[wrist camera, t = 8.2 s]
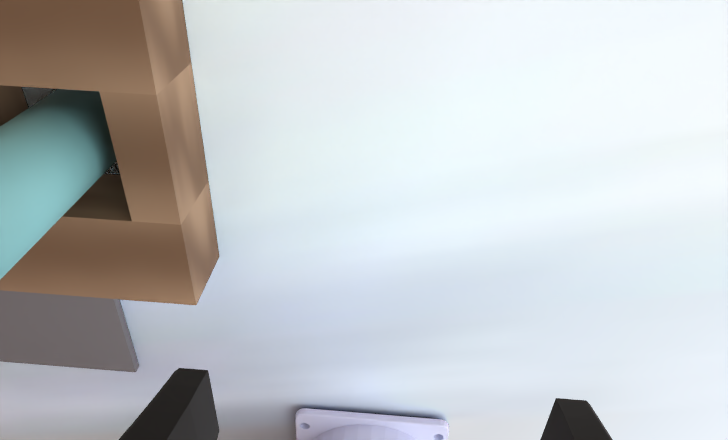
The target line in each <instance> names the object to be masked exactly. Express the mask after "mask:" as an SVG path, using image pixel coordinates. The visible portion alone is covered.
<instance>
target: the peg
mask: <svg viewBox="0 0 728 440" xmlns="http://www.w3.org/2000/svg"><path fill="white" fill-rule="evenodd" d="M116 161H117V160H116V156H115V152H114V148H113V144H112V140H111V136H110V132H109V128H108V124H107V120H106V116H105V112H104V108H103V104H102V100H101V96H100V92H99V91H84V90H68V89H57V90H56V91H54V92H53V93H51V94H50V95H48V96H46V97H45V98H43V99H42V100H40V101H39V102H37V103H36V104H34V105H33V106H31V107H30V108H28V109H26V110H25V111H23V112H22V113H20V114H19V115H17V116H16V117H14V118H13V119H11V120H9V121H8V122H6V123H5V124H3V125H2V126H0V280H1V278H2V277H3V276H4V275H5V274H6V273H7V272H8V271H9V270H10V269H11V268H12V267H13V266H14V265H15V264H16V263H17V262H18V261H19V260H20V259H21V258H22V257H23V256H24V255H25V254H26V253H27V252H28V251H29V250H30V249H31V248H32V247H33V246H34V245H35V244H36V243H37V242H38V241H39V240H40V239H41V238H42V236H43V235H44V234H45V233H46V232H47V231H48V230H49V229H50V228H51V227H52V226H53V225H54V224H55V223H56V222H57V221H58V220H59V219H60V218H61V217H62V216H63V215H64V214H65V213H66V212H67V211H68V210H69V209H70V208H71V207H72V206H73V205H74V204H75V203H76V202H77V201H78V200H79V199H80V198H81V197H82V196H83V195H84V193H85V192H86V191H87V190H88V189H89V188H90V187H91V186H92V185H93V184H94V183H95V182H96V181H97V180H98V179H99V178H100V177H101V176H102V175H103V174H104V173H105V172H106V171H107V170H108V169H109V168H110V167H111V166H112V165H113V164H114V163H115V162H116Z"/></svg>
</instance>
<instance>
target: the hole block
mask: <svg viewBox="0 0 728 440" xmlns="http://www.w3.org/2000/svg"><path fill="white" fill-rule="evenodd" d="M22 87H36V88H52V89H68V90H84V91H99V92H100V96H101V100H102V104H103V108H104V112H105V116H106V120H107V124H108V128H109V132H110V136H111V140H112V144H113V148H114V152H115V156H116V160H117V164H118V168H119V172H120V175H112V174H103V175H102V176H101V177H100V178H99V179H98V180H97V181H96V182H95V183H94V184H93V185H92V186H91V187H90V188H89V189H88V190H87V191H86V192H85V193H84V195H83V196H82V197H81V198H80V199H79V200H78V201H77V202H76V203H75V204H74V205H73V206H72V207H71V208H70V209H69V210H68V211H67V212H66V213H65V214H64V215H63V216H62V217H61V218H60V219H59V220H58V221H57V222H56V223H55V224H54V225H53V226H52V227H51V228H50V229H49V230H48V231H47V232H46V233H45V234H44V235H43V236H42V238H41V239H40V240H39V241H38V242H37V243H36V244H35V245H34V246H33V247H32V248H31V249H30V250H29V251H28V252H27V253H26V254H25V255H24V256H23V257H22V258H21V259H20V260H19V261H18V262H17V263H16V264H15V265H14V266H13V267H12V268H11V269H10V270H9V271H8V272H7V273H6V274H5V275H4V276H3V277H2V278H1V280H0V290H3V291H16V292H29V293H42V294H56V295H69V296H82V297H95V298H108V299H122V300H135V301H148V302H161V303H174V304H187V305H196V304H197V302H198V300H199V298H200V296H201V294H202V292H203V290H204V288H205V286H206V283H207V281H208V279H209V277H210V275H211V273H212V271H213V269H214V267H215V265H216V262H217V260H218V258H219V251H218V244H217V237H216V230H215V223H214V216H213V209H212V203H211V196H210V189H209V182H208V175H207V168H206V161H205V154H204V147H203V141H202V134H201V127H200V120H199V113H198V106H197V99H196V92H195V86H194V79H193V72H192V65H191V58H190V51H189V44H188V37H187V30H186V24H185V17H184V10H183V3H182V0H0V126H2V125H3V124H5V123H6V122H8V121H9V120H11V119H13V118H14V117H16V116H17V115H19V114H20V113H22V112H23V111H25V110H26V109H28V105H27V102H26V99H25V96H24V93H23V90H22Z"/></svg>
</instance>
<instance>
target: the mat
mask: <svg viewBox="0 0 728 440" xmlns="http://www.w3.org/2000/svg"><path fill="white" fill-rule="evenodd" d="M0 361H3V362H15V363H28V364H40V365H53V366H65V367H77V368H90V369H102V370H115V371H127V372H136V371H137V369H138V367H139V364H138V361H137V357H136V354H135V351H134V347H133V344H132V340H131V337H130V334H129V330H128V327H127V324H126V320H125V317H124V313H123V310H122V307H121V303H120V300H119V299H108V298H95V297H82V296H69V295H56V294H42V293H29V292H16V291H3V290H0Z"/></svg>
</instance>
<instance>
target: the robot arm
mask: <svg viewBox="0 0 728 440" xmlns="http://www.w3.org/2000/svg"><path fill="white" fill-rule="evenodd" d="M295 424H296V440H448V435H449V424H448V423H447V422H446V421H444V420H441V419H430V418H417V417H405V416H393V415H381V414H369V413H357V412H344V411H332V410H320V409H308V408H302V409H299V410H298V411H297V413H296V417H295ZM218 433H219V426H218V421H217V415H216V410H215V405H214V399H213V394H212V389H211V384H210V378H209V373H208V370H197V369H184V368H179V369H178V370H176V371H175V372H174V373H173V374H172V376H171V377H170V378H169V380H168V381H167V382H166V383H165V385H164V386H163V387H162V388H161V390H160V391H159V392H158V393H157V395H156V396H155V397H154V398H153V400H152V401H151V402H150V403H149V404H148V406H147V407H146V408H145V409H144V411H143V412H142V413H141V414H140V415H139V417H138V418H137V419H136V420H135V421H134V423H133V424H132V425H131V426H130V427H129V428H128V430H127V431H126V432H125V433H124V434H123V435H122V436H121V438H120V439H119V440H217V438H218ZM541 440H612V438H611V437H610V435H609V433H608V432H607V430H606V429H605V427H604V426H603V424H602V423H601V421H600V420H599V418H598V416H597V415H596V413H595V412H594V410H593V409H592V407H591V405H590V404H589V403H588V402H587V401H584V400H571V399H559V398H556V400H555V403H554V405H553V408H552V411H551V413H550V416H549V419H548V421H547V424H546V426H545V429H544V432H543V434H542V437H541Z"/></svg>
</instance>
